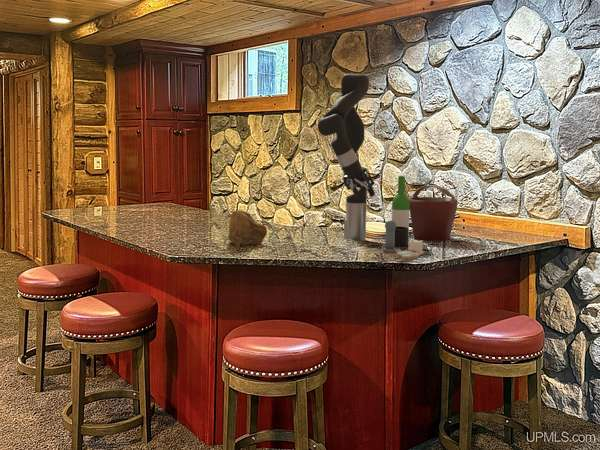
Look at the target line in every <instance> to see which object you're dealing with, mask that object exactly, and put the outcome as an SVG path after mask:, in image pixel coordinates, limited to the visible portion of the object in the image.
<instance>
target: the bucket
mask: <svg viewBox="0 0 600 450" xmlns="http://www.w3.org/2000/svg"><path fill="white" fill-rule="evenodd" d="M427 188H434V189H438V190H439V191H441V192H442V193H443V194H445V196H447V197H440V196H439V197H435V196H419V194H420V193H421V192H422V191H424V190H425V189H427ZM449 197H450V198H449ZM408 199H409V202H410V211H409V217H410V222H411V230H412V235H413V240H423V241H424V242H445V241H448V240H450V238H451V234H452V230H453V225H454V221H455V217H456V213H457V208H458V199H456V196H455V195H454V194H453V193H452V192H450V191H449V190H448V189H447V188H445V187H442V186H439V185H434V184H431V185H429V184H427V185H423V186H420V187H419V188H417V189H415V191H414V193H413V194H412V197H408ZM447 239H448V240H447ZM444 240H445V241H444Z"/></svg>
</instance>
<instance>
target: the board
mask: <svg viewBox="0 0 600 450" xmlns="http://www.w3.org/2000/svg"><path fill="white" fill-rule="evenodd" d="M349 251H356V252H365V253H374V254H381V255H382V254H383V255H391V256H392V255H393V256H397V257H395V258H393V260H398V261H399V260H401V261H406V260H407V261H406V262H408V261H411V260H414V259H417V258H419V257H420V254H418V253H412V252H413V251H410V252H409V251H402V250H396V253H384V252H383V248H373V247H366V246H356V247H354V248H350V249H349Z"/></svg>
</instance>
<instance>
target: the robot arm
mask: <svg viewBox="0 0 600 450" xmlns="http://www.w3.org/2000/svg"><path fill="white" fill-rule="evenodd" d="M369 86H370V81H369V77H368V76H367V74H366V75H365V74H361V73H359V74H358V73H345V74H343V75H342V77H341V84H340V89H341V97H339V98H338V99H337V100H336V101H335V102H334V103H333V105H332V106H331V108H330V109H329V110H328V111H327V112H326V113H325V114H323V116H321V118H320V119H319V120H318V123H317V130H318V133H319V134H320V135H322V136H324V137H327V136H332V135H333V134H336V138H334V139H333V140H332V141H331V142H330V146H331V148H332V150H333V152H334V155H335V156H336V160H337V162H338V165H340V168H341V170H342V172H343V177H342V181H343V185H344V187H346V189H347V191H349V190H350V191H351V192H352V194H349V195H347V196H346V198H345V202H346V203H345V218H344V219H343V239H344V240H354V241H361V242H362V241H363V242H364V241H366V239H367V193H368V194H369V196H370V197H374V196H375V194H376V192H375V190H374V188H373V186H374V185H375V184H376V183H375V181H374V179H373V177H372V176H371V174H370V172H369V171H368V169H367V167H364V166H362V164H361V163H360V161H359V158H358V156H357V153H358V151H359V150H360V148H361V147H362V145H363V143H364V141H365V124H364V121H363V119H362V118H361V116H360V115H359V113H358V112H357V110H356V108H355V106H356V105H357V104H358V103H359V102H360V101H361V100H362V99H363V98H364V97H365V96H366V95H367V94H368V91H369Z"/></svg>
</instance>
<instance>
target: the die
mask: <svg viewBox="0 0 600 450" xmlns="http://www.w3.org/2000/svg"><path fill="white" fill-rule="evenodd" d="M423 245H424V244H423V240H416V239H409V241H408V246H407V249H408V251H411V252H412V253H418V254H419V256H421V255H422V254H423Z"/></svg>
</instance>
